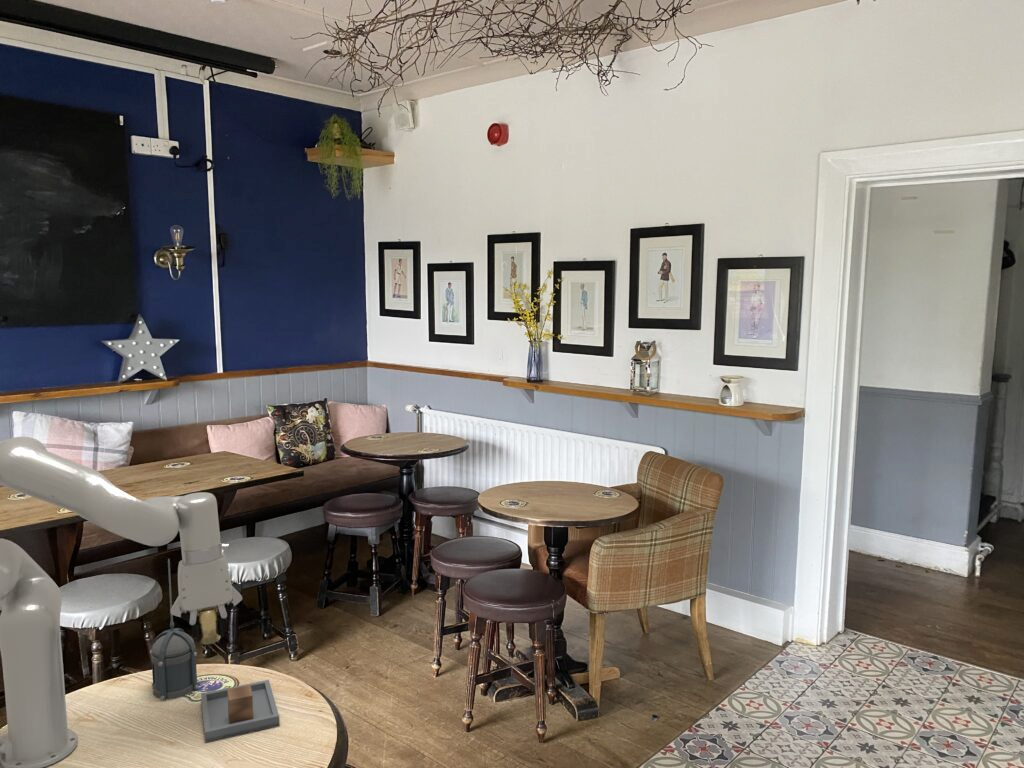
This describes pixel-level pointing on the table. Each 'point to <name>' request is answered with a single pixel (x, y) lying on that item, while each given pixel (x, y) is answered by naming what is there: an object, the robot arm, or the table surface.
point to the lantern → (173, 662)
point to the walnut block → (240, 704)
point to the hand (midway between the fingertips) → (210, 636)
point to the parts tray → (262, 719)
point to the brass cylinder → (208, 625)
